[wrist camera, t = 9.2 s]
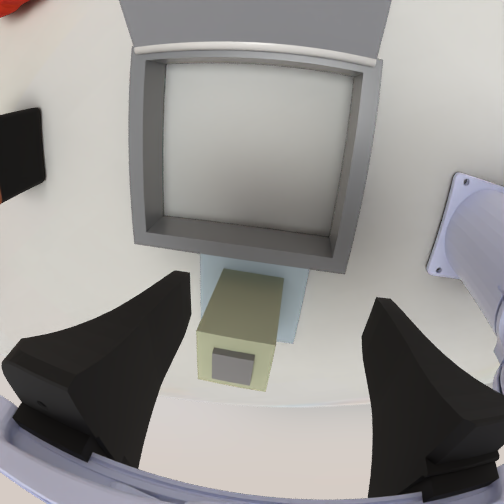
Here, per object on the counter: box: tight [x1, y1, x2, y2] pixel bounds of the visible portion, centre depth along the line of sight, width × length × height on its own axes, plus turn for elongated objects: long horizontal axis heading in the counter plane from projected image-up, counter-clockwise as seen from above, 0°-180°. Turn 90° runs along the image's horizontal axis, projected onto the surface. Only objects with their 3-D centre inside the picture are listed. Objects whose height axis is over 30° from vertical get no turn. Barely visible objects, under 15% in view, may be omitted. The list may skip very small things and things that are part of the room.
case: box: [119, 0, 391, 274], centre depth 14 cm, size 14×18×8 cm
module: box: [196, 268, 284, 392], centre depth 21 cm, size 4×4×8 cm
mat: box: [200, 254, 309, 344], centre depth 24 cm, size 8×8×1 cm
